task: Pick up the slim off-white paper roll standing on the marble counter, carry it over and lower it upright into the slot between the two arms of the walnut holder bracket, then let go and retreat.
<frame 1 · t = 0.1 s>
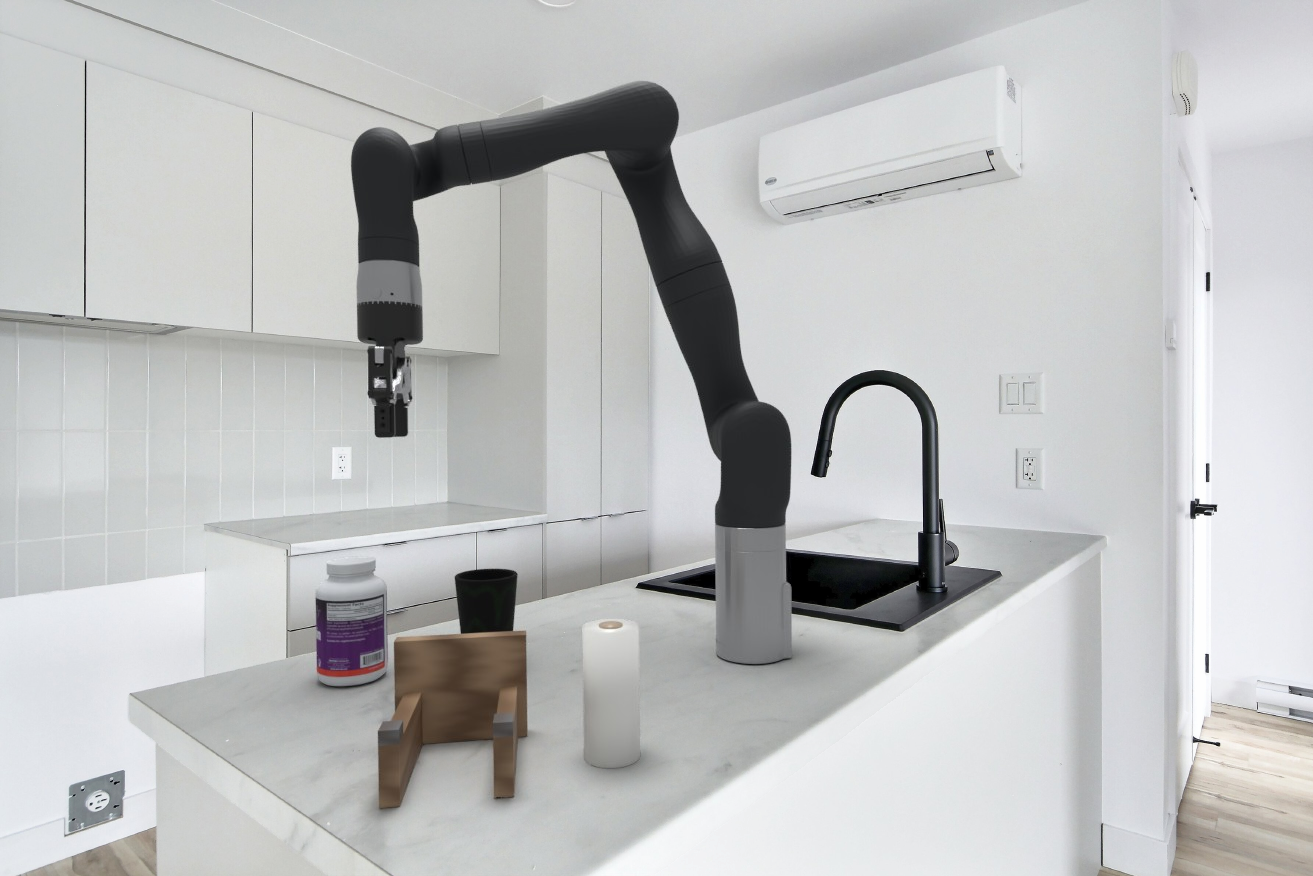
hand: (392, 437, 92), 29 cm above the counter, fingers open, 8 cm apart
holder: (457, 762, 68), on the counter
pill bottle: (353, 679, 92), on the counter
roll: (612, 755, 69), on the counter
cup: (487, 671, 94), on the counter
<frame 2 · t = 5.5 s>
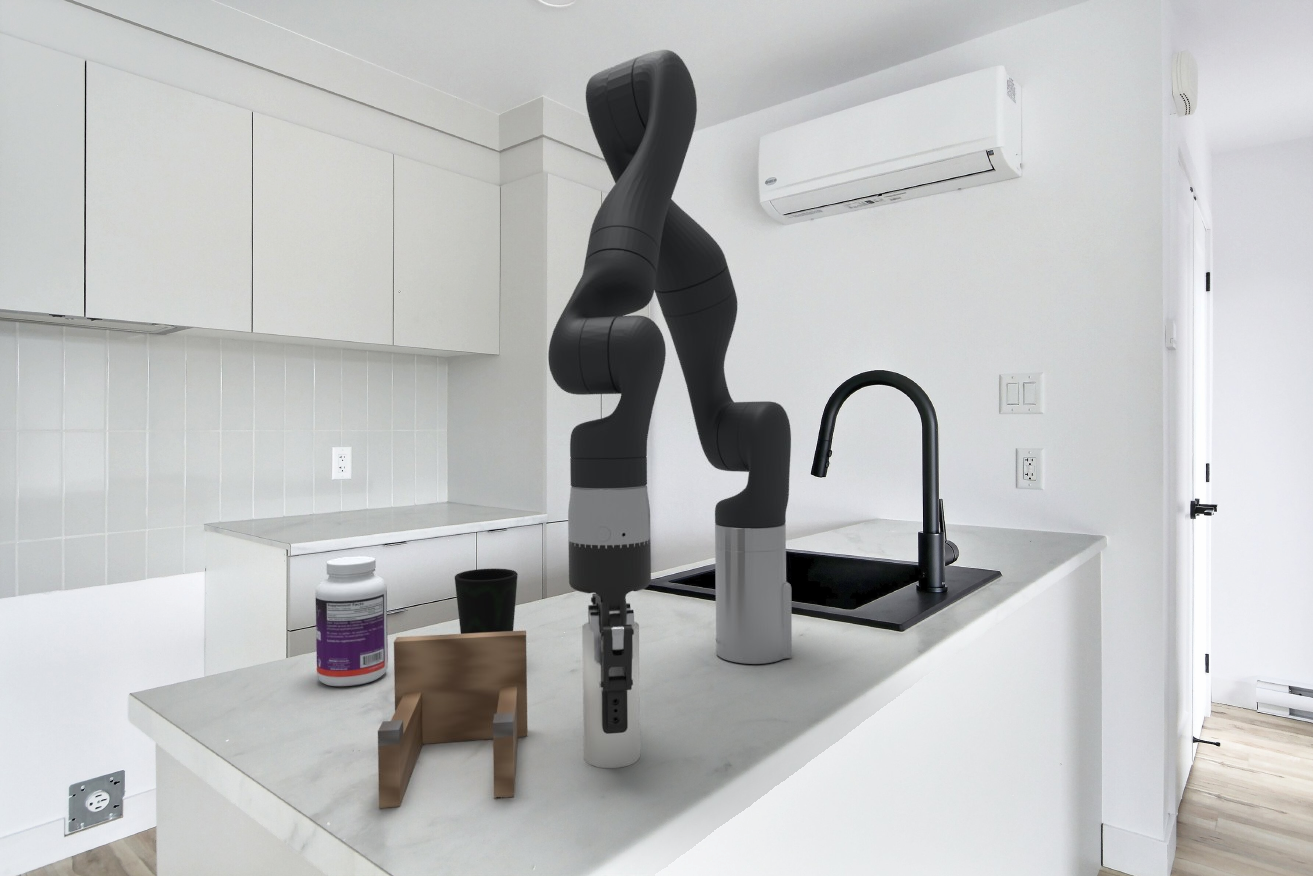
hand: (611, 718, 69), 3 cm above the counter, fingers closed on roll, 5 cm apart
roll: (612, 755, 69), on the counter, touching gripper
everything else where it was.
when the fingers open (5 cm above the counter, at t = 11.5 s): roll drops 1 cm, on the counter.
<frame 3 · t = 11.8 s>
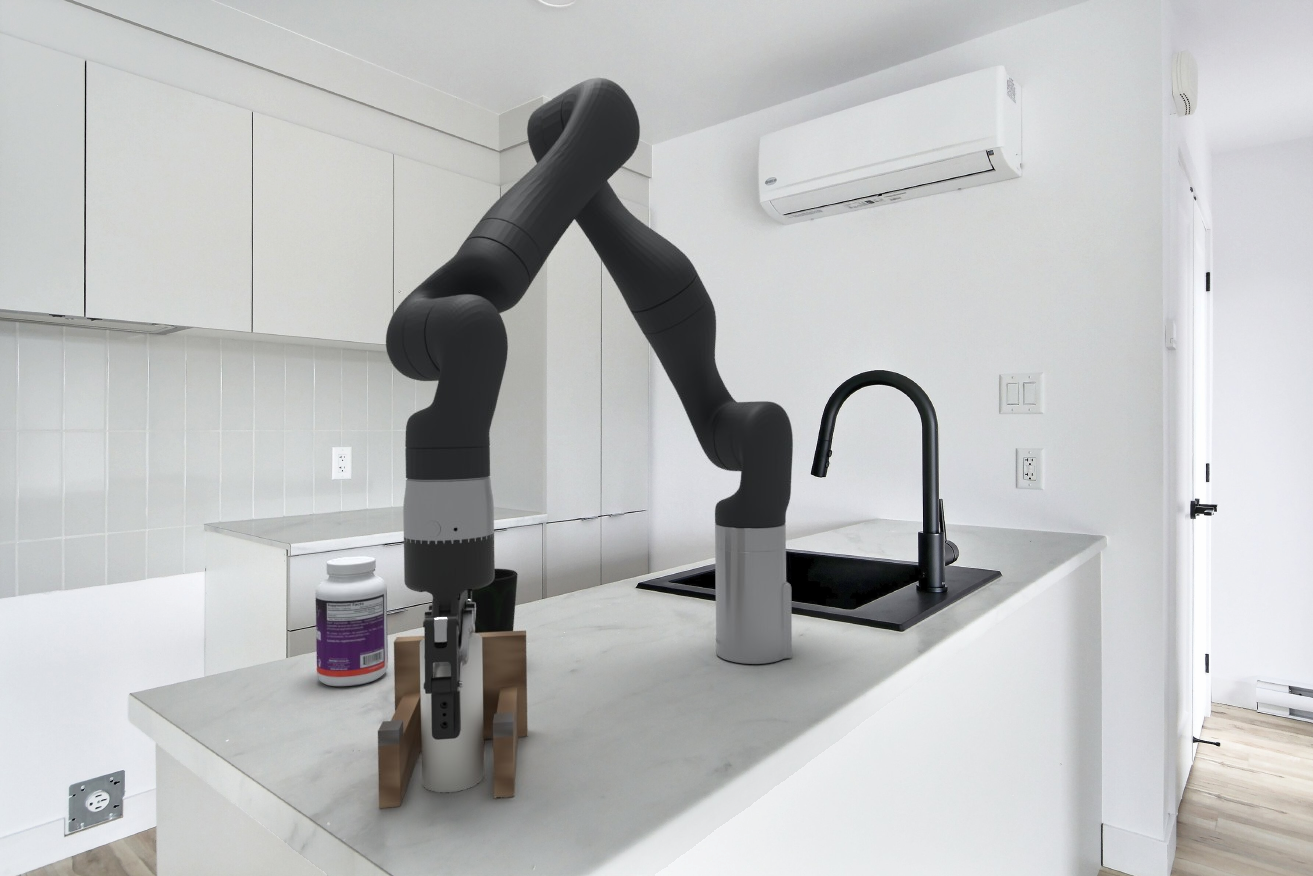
hand: (452, 717, 65), 5 cm above the counter, fingers open, 8 cm apart
roll: (453, 778, 65), on the counter
everything else where it was.
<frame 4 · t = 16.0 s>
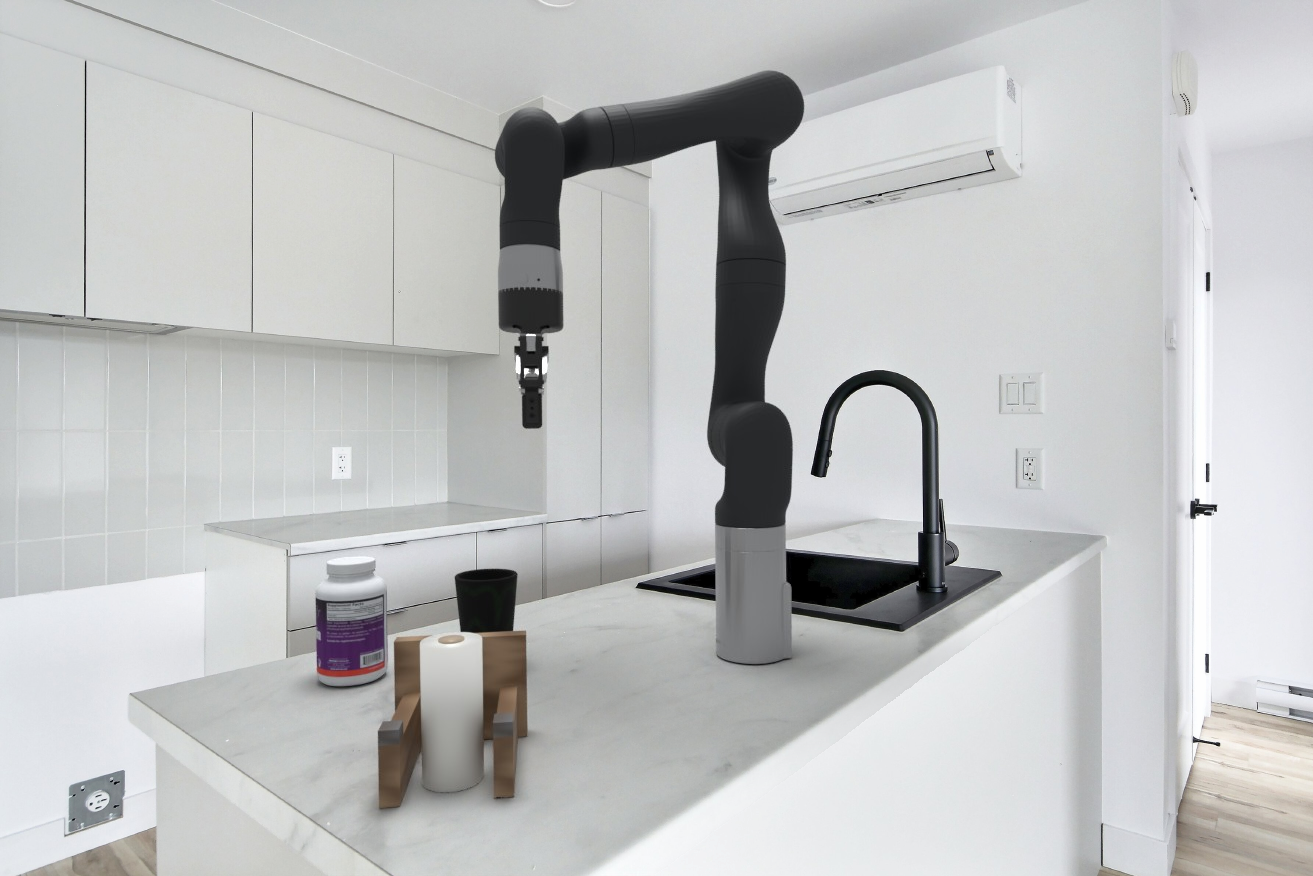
hand: (532, 428, 89), 30 cm above the counter, fingers open, 8 cm apart
nothing on the counter moved.
at the end: roll 0.2 cm from the target spot on the holder, point 0.0 cm above the holder's base; roll tilted 0°; the gripper is holding nothing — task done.
